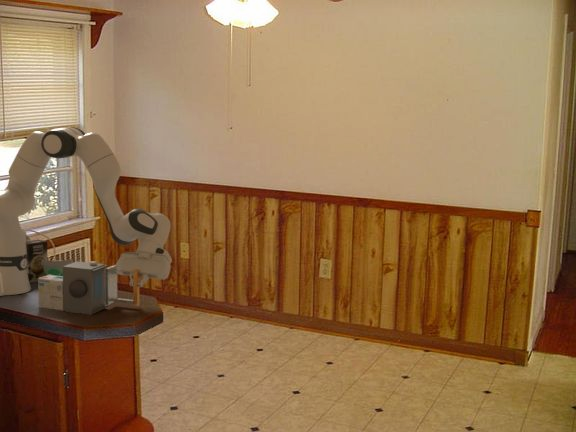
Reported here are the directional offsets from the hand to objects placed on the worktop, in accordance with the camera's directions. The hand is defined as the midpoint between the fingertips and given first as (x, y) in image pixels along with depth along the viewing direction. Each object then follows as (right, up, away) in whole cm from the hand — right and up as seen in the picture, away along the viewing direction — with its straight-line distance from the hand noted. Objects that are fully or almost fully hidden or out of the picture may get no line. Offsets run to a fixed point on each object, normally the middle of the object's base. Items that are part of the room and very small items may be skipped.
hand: (135, 285), depth 266 cm
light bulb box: (-28, -8, +1) cm, 29 cm away
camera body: (-17, -8, -3) cm, 19 cm away
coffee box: (-48, -2, +37) cm, 61 cm away
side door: (-5, -7, +1) cm, 9 cm away
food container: (-38, -3, +32) cm, 49 cm away
